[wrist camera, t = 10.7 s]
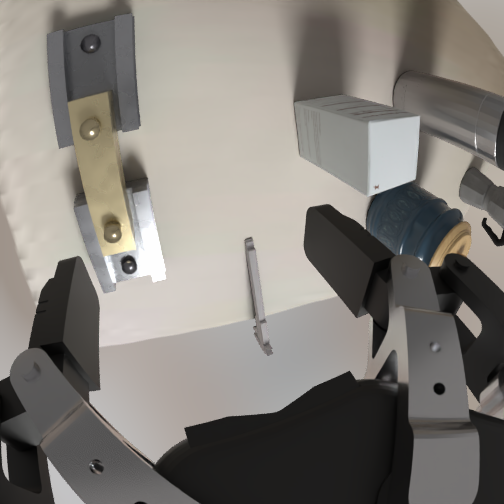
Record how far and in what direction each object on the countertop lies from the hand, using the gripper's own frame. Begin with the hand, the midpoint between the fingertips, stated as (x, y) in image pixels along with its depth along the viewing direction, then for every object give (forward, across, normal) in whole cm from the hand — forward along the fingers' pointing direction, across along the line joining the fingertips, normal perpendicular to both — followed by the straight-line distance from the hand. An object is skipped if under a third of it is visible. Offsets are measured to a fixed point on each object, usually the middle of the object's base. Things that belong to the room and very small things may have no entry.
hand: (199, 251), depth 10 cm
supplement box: (+23, -19, +1) cm, 30 cm away
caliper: (+23, -10, +26) cm, 36 cm away
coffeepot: (+24, -65, +15) cm, 71 cm away
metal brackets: (+22, +6, +2) cm, 23 cm away
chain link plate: (+20, +6, +2) cm, 21 cm away
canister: (+23, -36, +16) cm, 46 cm away
